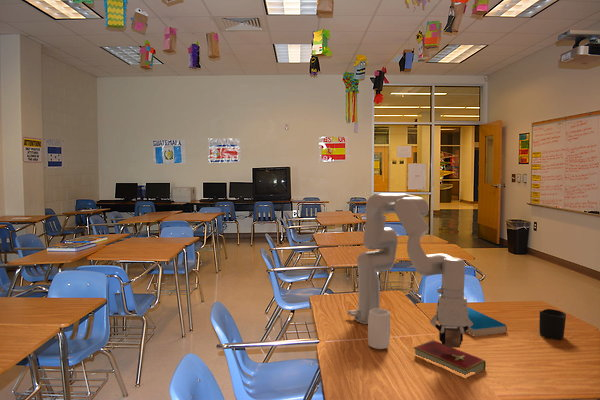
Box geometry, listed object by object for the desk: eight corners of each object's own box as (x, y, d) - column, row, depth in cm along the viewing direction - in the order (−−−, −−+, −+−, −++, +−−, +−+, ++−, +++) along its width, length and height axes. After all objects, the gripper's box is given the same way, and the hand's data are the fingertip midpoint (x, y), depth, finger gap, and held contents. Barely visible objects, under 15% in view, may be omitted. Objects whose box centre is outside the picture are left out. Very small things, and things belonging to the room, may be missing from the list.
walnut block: (445, 347, 145) (446, 330, 145) (441, 341, 150) (442, 325, 150) (460, 347, 145) (460, 330, 144) (455, 341, 150) (456, 325, 149)
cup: (373, 353, 154) (374, 316, 153) (363, 344, 162) (364, 308, 161) (393, 351, 156) (394, 314, 155) (383, 342, 165) (384, 307, 164)
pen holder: (568, 341, 168) (570, 317, 167) (543, 339, 170) (544, 315, 169) (559, 332, 177) (560, 309, 176) (535, 330, 179) (536, 307, 178)
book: (474, 328, 171) (437, 308, 195) (474, 338, 171) (436, 317, 195) (507, 324, 176) (467, 305, 200) (507, 334, 176) (466, 313, 200)
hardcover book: (433, 349, 159) (433, 338, 159) (485, 371, 143) (485, 359, 142) (413, 357, 152) (413, 346, 152) (465, 381, 135) (466, 368, 135)
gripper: (430, 295, 143) (428, 346, 144) (481, 296, 142) (479, 348, 143) (425, 289, 150) (423, 338, 152) (473, 290, 149) (471, 339, 150)
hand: (450, 342), depth 147 cm, fingers closed on walnut block, 5 cm apart
